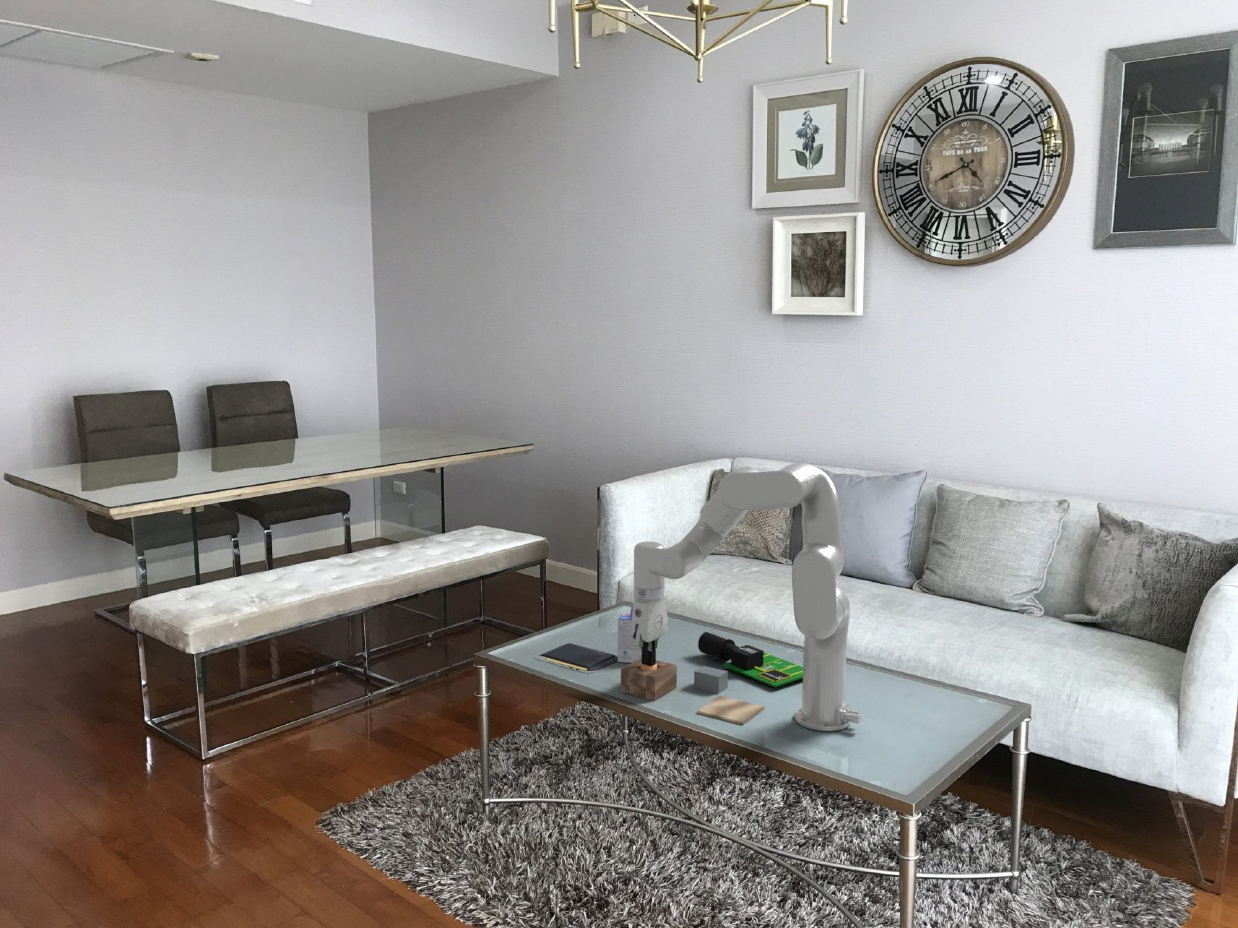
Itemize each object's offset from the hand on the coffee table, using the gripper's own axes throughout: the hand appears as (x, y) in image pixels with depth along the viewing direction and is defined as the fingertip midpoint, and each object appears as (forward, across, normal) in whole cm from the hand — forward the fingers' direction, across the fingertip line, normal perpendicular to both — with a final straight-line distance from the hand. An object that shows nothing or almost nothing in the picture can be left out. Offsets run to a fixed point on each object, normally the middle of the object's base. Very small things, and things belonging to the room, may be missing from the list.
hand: (648, 664), depth 243 cm
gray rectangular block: (+7, +10, -12) cm, 17 cm away
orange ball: (+4, 0, 0) cm, 4 cm away
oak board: (+7, 0, -23) cm, 24 cm away
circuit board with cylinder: (+7, +28, -15) cm, 33 cm away
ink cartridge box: (+7, +16, +14) cm, 22 cm away
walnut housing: (+7, 0, 0) cm, 7 cm away
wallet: (+8, +8, +28) cm, 30 cm away
